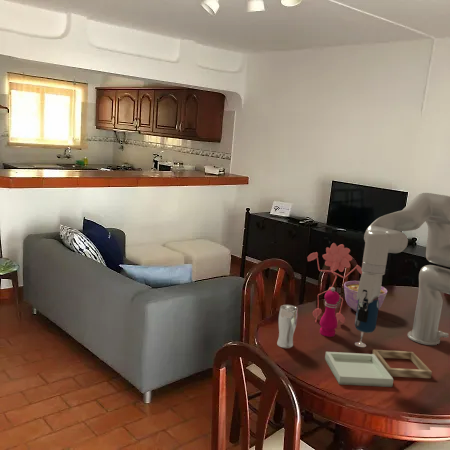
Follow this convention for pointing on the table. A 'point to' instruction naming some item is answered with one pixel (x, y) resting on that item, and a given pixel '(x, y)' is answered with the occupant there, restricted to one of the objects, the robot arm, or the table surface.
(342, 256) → the figurine
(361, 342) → the wineglass
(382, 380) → the sage dish
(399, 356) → the oak frame
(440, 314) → the robot arm
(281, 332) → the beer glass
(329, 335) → the pepper mill
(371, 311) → the soda can
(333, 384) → the table surface
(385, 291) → the bowl of food
